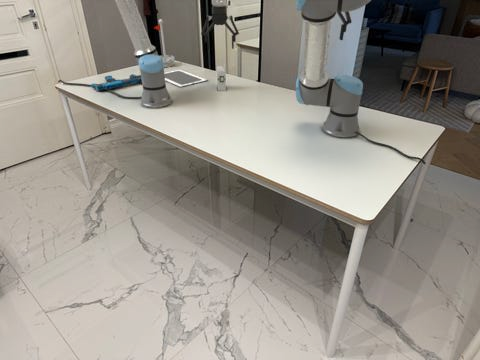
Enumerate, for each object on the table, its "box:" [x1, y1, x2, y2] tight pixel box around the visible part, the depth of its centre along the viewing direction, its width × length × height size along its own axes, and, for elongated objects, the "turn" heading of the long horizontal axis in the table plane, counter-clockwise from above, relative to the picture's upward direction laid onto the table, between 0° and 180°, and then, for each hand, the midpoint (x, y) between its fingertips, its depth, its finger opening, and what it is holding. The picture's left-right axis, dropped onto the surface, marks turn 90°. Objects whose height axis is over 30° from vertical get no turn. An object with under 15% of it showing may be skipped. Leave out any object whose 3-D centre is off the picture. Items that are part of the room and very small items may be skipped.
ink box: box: [216, 65, 227, 92], centre depth 195 cm, size 9×5×15 cm, turn 4°
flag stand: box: [153, 18, 176, 68], centre depth 235 cm, size 13×13×30 cm
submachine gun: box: [90, 73, 142, 92], centre depth 207 cm, size 34×4×25 cm
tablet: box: [164, 69, 208, 88], centre depth 216 cm, size 32×20×1 cm, turn 41°
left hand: (220, 48), depth 187 cm, fingers open, 13 cm apart
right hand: (326, 39), depth 161 cm, fingers open, 13 cm apart
